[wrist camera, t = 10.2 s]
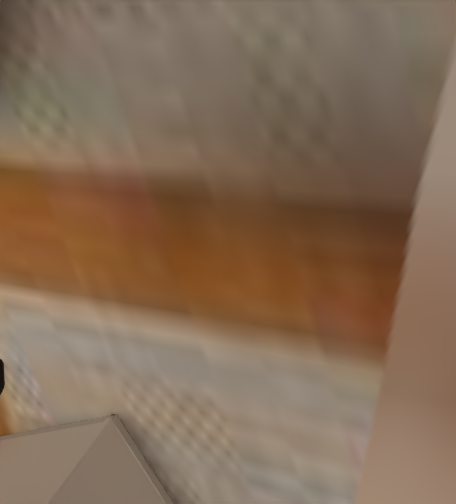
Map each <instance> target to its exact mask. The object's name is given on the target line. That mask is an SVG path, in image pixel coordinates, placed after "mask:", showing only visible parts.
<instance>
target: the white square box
mask: <svg viewBox="0 0 456 504" xmlns="http://www.w3.org/2000/svg"><path fill="white" fill-rule="evenodd" d="M0 504H173V502H172V501H171V499H170V497H169V496H168V494H167V493H166V491H165V490H164V488H163V487H162V485H161V483H160V482H159V480H158V479H157V477H156V476H155V474H154V473H153V471H152V469H151V468H150V466H149V465H148V463H147V462H146V460H145V459H144V457H143V455H142V454H141V452H140V451H139V449H138V448H137V446H136V444H135V443H134V441H133V440H132V438H131V437H130V435H129V434H128V432H127V430H126V429H125V427H124V426H123V424H122V423H121V421H120V420H119V418H118V416H117V415H112V416H107V417H102V418H96V419H91V420H85V421H80V422H75V423H69V424H64V425H59V426H53V427H48V428H43V429H37V430H32V431H27V432H21V433H16V434H11V435H5V436H0Z"/></svg>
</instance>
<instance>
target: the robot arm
mask: <svg viewBox="0 0 456 504" xmlns="http://www.w3.org/2000/svg"><path fill="white" fill-rule="evenodd" d="M4 385H5V380H4V363H3V361H2V360H1V359H0V394H1V393H2V391H3V389H4Z"/></svg>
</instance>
